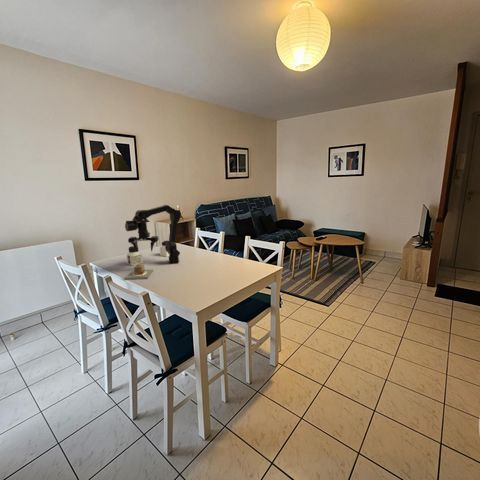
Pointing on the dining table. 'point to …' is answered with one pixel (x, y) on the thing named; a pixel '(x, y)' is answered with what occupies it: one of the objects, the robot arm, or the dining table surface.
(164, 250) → the medicine bottle
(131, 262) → the container
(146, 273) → the coaster
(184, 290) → the dining table surface
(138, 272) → the cube
